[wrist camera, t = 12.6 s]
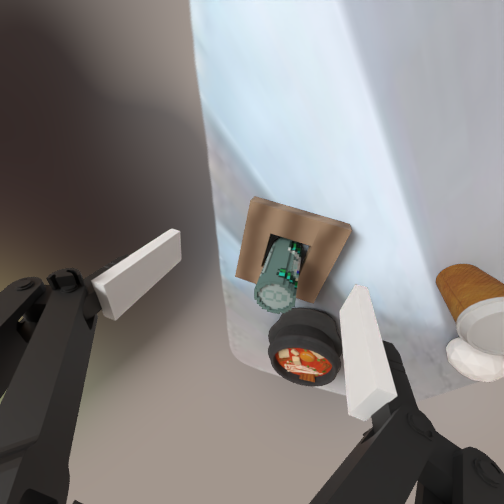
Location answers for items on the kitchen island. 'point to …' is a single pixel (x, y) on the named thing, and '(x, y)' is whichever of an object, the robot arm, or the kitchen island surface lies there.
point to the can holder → (297, 229)
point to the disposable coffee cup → (475, 306)
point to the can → (279, 277)
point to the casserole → (305, 347)
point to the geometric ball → (474, 361)
